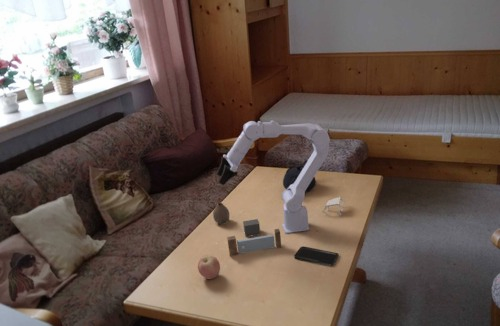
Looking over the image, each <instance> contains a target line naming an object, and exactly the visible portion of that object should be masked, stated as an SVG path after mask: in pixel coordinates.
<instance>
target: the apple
mask: <svg viewBox="0 0 500 326" xmlns="http://www.w3.org/2000/svg"><path fill="white" fill-rule="evenodd" d="M197 269H198V273H199V274H200V276H202V277H203V278H205V279H207V280H213V279H215V278H216V277H217V276H218V275H219V274H220V271H221V264H220V261H219V260H218V258H217V257H216V256H213V255H209V254H208V255H204V256H202V257H200V258H199V260H198V263H197Z"/></svg>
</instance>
